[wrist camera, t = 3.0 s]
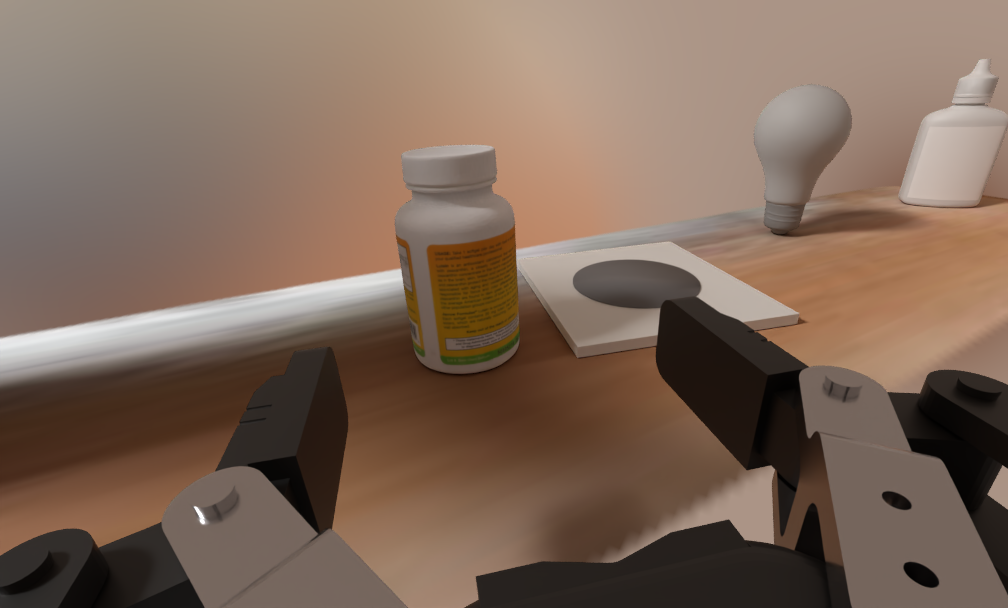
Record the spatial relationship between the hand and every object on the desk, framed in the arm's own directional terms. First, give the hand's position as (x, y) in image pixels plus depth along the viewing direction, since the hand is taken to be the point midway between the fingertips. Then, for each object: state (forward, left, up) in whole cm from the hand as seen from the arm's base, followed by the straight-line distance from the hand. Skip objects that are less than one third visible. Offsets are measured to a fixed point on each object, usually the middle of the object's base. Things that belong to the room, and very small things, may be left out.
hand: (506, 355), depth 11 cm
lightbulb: (+27, +22, -6) cm, 35 cm away
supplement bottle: (0, +11, -6) cm, 13 cm away
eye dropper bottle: (+46, +25, -6) cm, 53 cm away
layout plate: (+11, +15, -6) cm, 20 cm away
